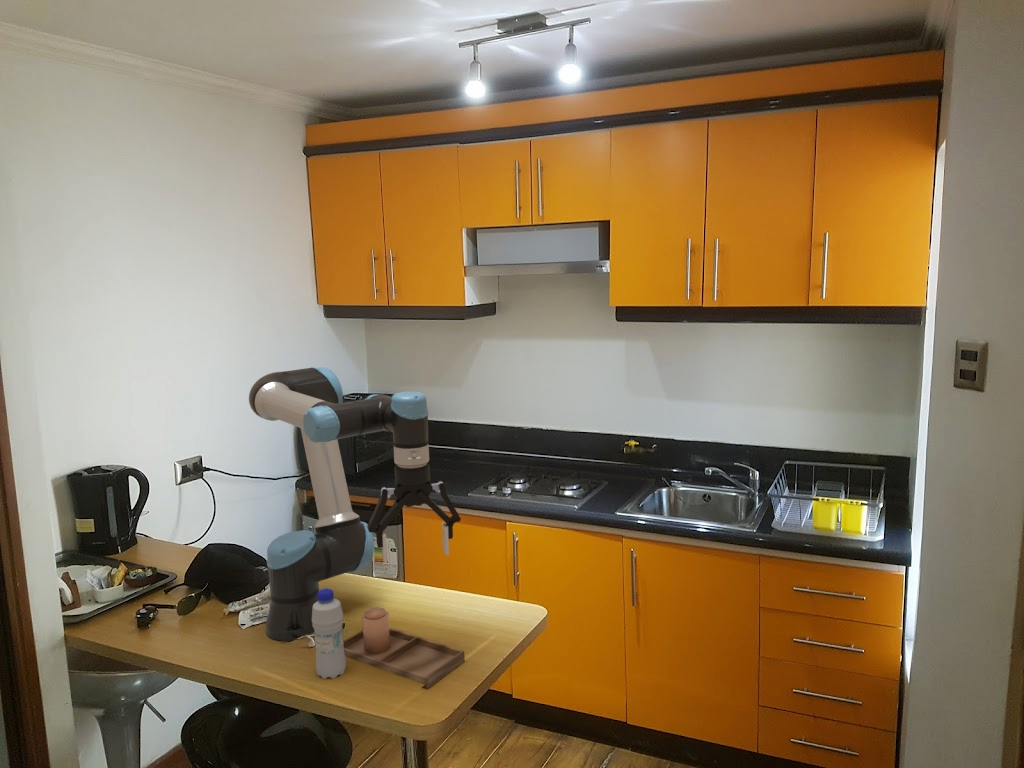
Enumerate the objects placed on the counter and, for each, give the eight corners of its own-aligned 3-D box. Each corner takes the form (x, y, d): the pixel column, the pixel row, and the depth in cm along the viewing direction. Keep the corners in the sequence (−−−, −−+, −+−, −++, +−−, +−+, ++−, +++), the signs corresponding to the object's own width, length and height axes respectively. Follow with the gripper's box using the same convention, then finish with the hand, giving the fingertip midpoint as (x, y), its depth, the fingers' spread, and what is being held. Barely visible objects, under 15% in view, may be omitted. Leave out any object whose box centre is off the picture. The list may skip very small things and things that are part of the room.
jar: (358, 649, 176) (356, 614, 174) (376, 638, 181) (374, 604, 179) (377, 656, 172) (375, 620, 171) (395, 645, 177) (393, 609, 176)
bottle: (309, 681, 165) (303, 594, 162) (327, 665, 171) (321, 581, 168) (336, 686, 163) (329, 598, 159) (353, 670, 169) (347, 585, 166)
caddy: (335, 656, 175) (334, 646, 175) (375, 632, 186) (374, 623, 186) (426, 689, 160) (426, 678, 160) (464, 661, 171) (464, 651, 171)
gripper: (354, 474, 157) (360, 570, 161) (472, 462, 164) (474, 555, 168) (351, 464, 164) (357, 557, 168) (464, 454, 171) (467, 543, 175)
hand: (415, 556), depth 168 cm, fingers open, 13 cm apart
